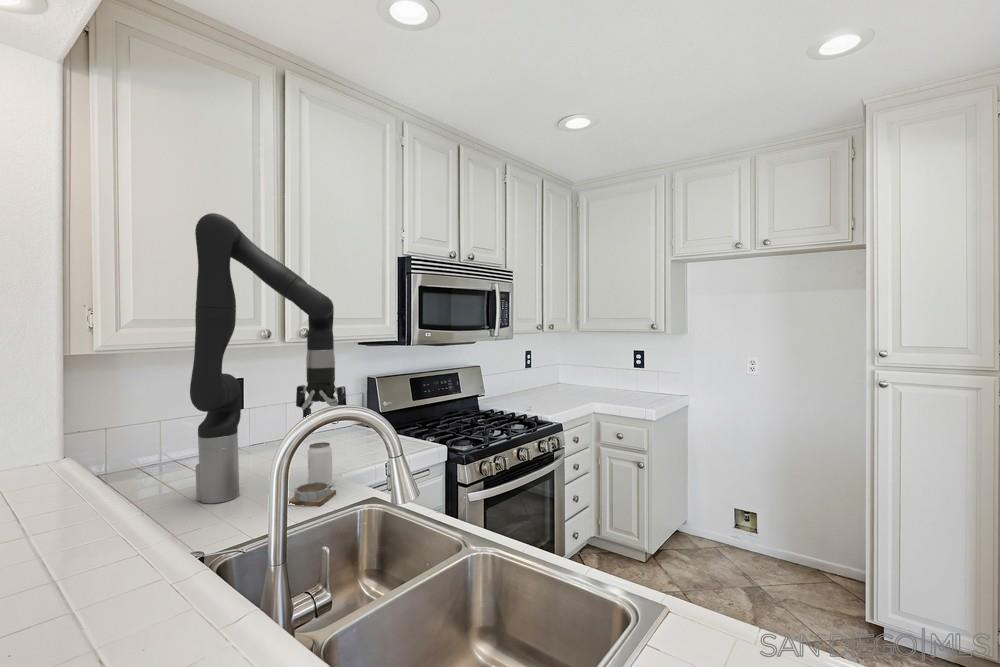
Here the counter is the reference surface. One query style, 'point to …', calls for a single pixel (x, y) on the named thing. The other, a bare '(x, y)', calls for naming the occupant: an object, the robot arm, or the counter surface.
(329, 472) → the can
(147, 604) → the counter surface
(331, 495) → the board
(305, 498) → the collar
